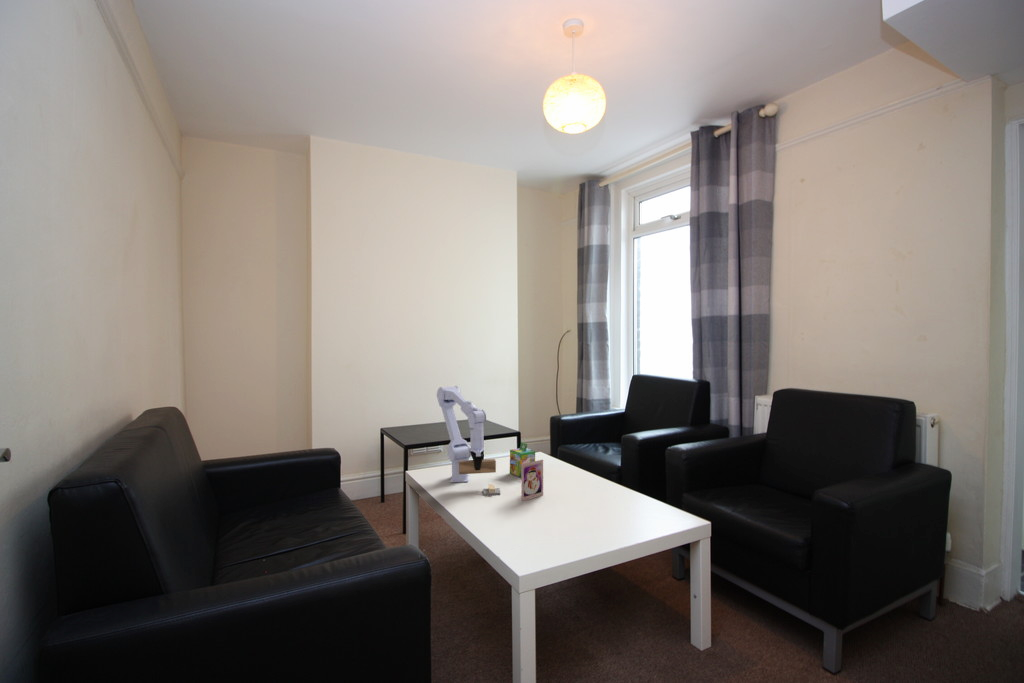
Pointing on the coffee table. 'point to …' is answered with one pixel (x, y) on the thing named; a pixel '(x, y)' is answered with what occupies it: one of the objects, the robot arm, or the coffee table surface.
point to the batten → (469, 468)
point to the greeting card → (531, 479)
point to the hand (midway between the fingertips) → (477, 468)
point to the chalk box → (520, 458)
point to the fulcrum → (491, 490)
